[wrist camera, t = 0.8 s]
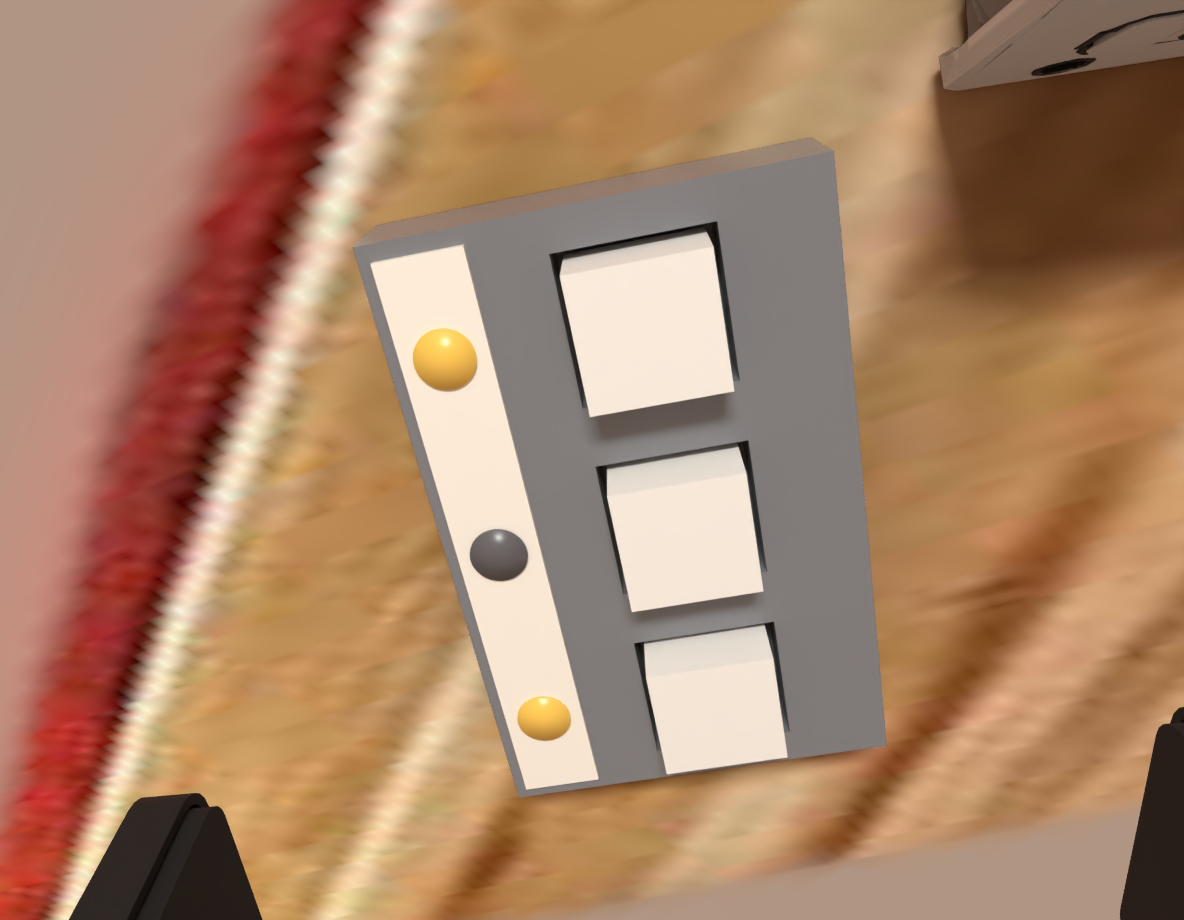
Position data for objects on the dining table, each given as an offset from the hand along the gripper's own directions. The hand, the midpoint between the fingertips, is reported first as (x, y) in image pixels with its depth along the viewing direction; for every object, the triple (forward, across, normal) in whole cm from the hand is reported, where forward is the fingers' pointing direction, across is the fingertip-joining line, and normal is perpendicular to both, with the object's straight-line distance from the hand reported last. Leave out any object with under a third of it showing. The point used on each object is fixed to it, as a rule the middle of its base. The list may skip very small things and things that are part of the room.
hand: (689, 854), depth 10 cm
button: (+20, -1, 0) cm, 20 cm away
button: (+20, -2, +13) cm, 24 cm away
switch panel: (+22, -1, +7) cm, 23 cm away
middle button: (+20, -2, +7) cm, 21 cm away
